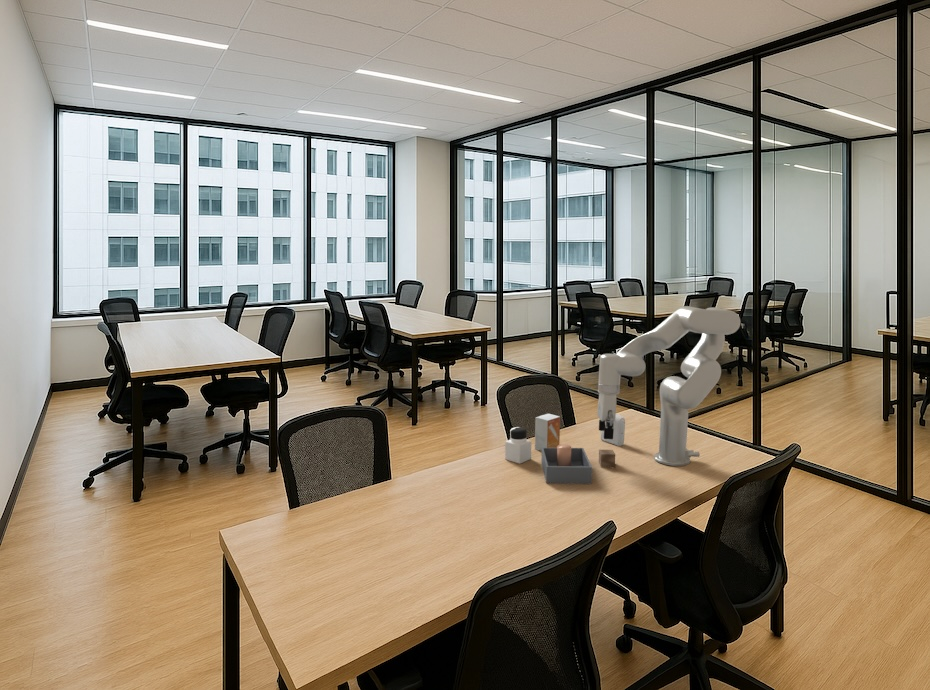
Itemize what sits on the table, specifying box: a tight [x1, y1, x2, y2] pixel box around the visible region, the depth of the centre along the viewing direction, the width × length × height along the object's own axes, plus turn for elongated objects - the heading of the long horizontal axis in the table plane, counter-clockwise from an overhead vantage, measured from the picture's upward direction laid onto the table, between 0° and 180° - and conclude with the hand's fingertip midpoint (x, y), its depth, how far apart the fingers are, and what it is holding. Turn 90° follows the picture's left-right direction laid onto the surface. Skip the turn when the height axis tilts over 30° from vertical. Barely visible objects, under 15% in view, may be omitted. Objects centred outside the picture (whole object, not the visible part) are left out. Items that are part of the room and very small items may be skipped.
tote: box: [540, 447, 593, 485], centre depth 213 cm, size 15×19×6 cm
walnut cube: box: [598, 449, 616, 468], centre depth 221 cm, size 5×5×5 cm
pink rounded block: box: [557, 444, 572, 466], centre depth 218 cm, size 5×5×7 cm
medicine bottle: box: [504, 426, 532, 464], centre depth 226 cm, size 7×7×12 cm
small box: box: [534, 413, 561, 452], centre depth 237 cm, size 8×6×13 cm
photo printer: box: [600, 413, 626, 447], centre depth 244 cm, size 10×4×12 cm, turn 36°
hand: (605, 434), depth 219 cm, fingers open, 9 cm apart
